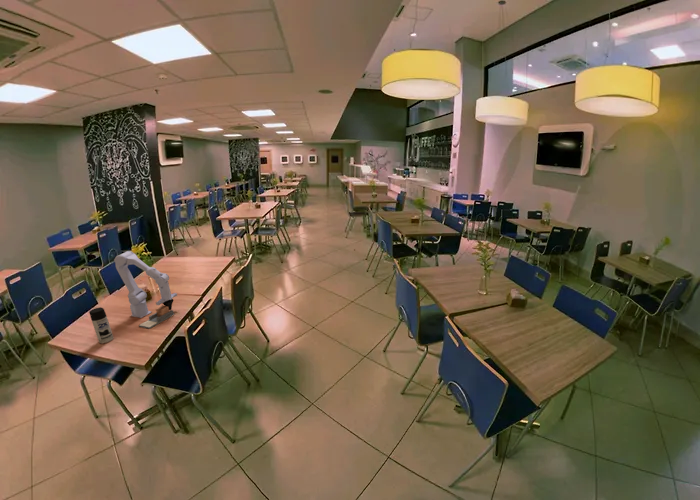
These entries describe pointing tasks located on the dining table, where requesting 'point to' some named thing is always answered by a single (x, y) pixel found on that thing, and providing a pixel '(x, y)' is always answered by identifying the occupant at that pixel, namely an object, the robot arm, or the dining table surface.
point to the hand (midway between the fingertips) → (169, 309)
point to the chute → (156, 319)
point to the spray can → (101, 325)
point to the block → (162, 310)
